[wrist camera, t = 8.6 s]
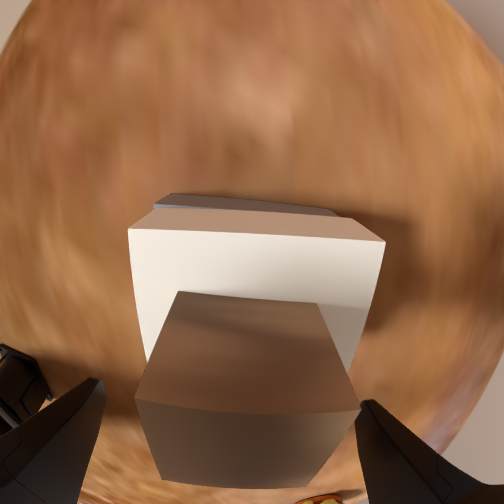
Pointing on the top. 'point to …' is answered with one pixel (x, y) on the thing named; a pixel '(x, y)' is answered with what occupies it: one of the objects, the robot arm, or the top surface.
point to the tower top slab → (256, 265)
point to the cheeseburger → (323, 500)
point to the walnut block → (244, 393)
